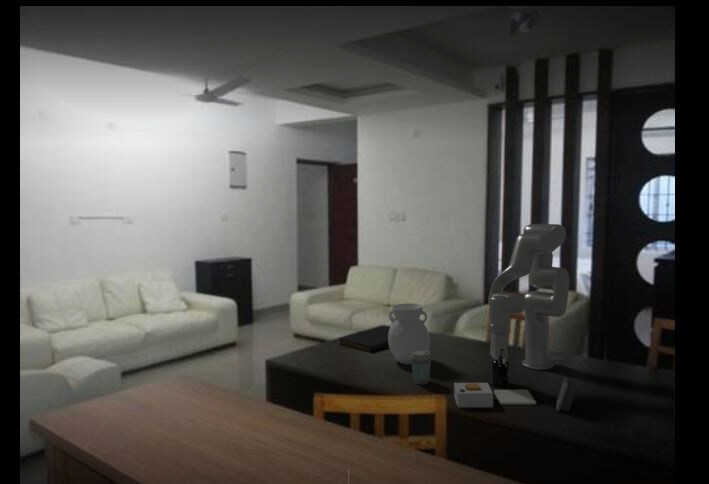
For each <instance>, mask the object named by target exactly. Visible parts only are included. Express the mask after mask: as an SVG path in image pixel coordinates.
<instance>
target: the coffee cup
mask: <svg viewBox="0 0 709 484" xmlns="http://www.w3.org/2000/svg"><path fill="white" fill-rule="evenodd" d="M410 358H411V363H412V364H411V369H412V376H413V383H414V384H417V385H420V386H421V385H427V384H429V383H430V376H431V375H430V374H431V364H432V363H431V362H432V358H433V356H432V354H431V351H430V350H429V351H427V350H414V351H412V352H411V355H410Z"/></svg>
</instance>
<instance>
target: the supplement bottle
mask: <svg viewBox="0 0 709 484" xmlns="http://www.w3.org/2000/svg"><path fill="white" fill-rule="evenodd" d="M500 363H501V361H500ZM506 364H507V377H498V366H499V364H498V359H496V360H493V359H492V360H491V362H490V382H491V384H492V385H493V386H494V387H499V388H506V387H508V386H509V385H510V379H511V378H510V377H511V376H510V372H511V371H510V361H508V359H507V360H506Z"/></svg>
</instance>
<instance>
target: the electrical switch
mask: <svg viewBox="0 0 709 484" xmlns="http://www.w3.org/2000/svg"><path fill="white" fill-rule="evenodd" d="M575 394H576V383H575V382H572V381H569V380H568V378H567V377H563V379H562V383H561V386H560V389H559V391H558V395H557V398H556V411H557V412H560V411H563V412H567V413H569V412H570V409H571V406H572V403H573V401H574V397H575Z"/></svg>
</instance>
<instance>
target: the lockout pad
mask: <svg viewBox="0 0 709 484" xmlns="http://www.w3.org/2000/svg"><path fill="white" fill-rule="evenodd" d="M493 394H494V395H495V396H496V398H497V400H498V402H499V404H500V405H501V406H520V405H521V406H529V405H530V406H536V405H537V401H536V400H535V399H534V397H533V396H532V395H531V393H530V391H529V390H528V389H494V390H493Z"/></svg>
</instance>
